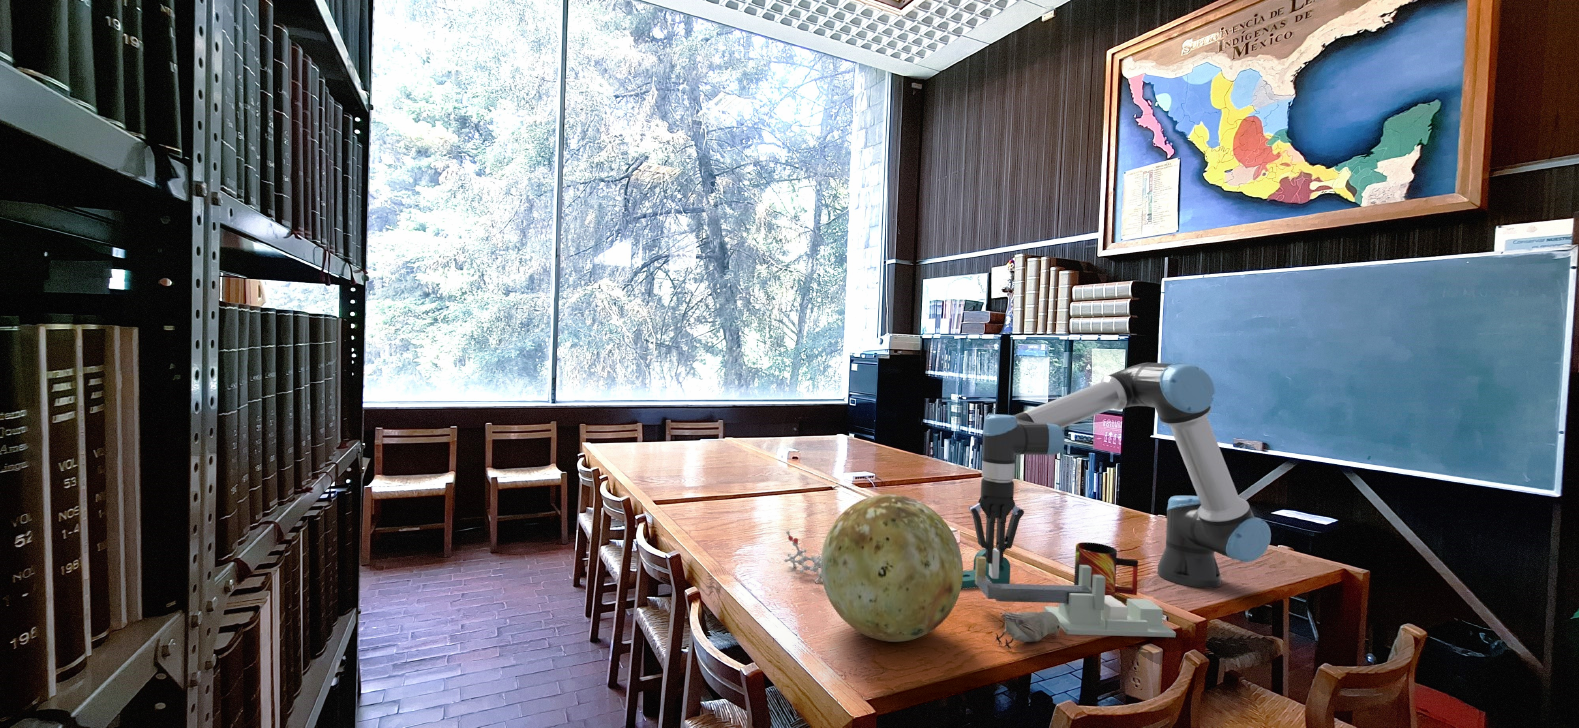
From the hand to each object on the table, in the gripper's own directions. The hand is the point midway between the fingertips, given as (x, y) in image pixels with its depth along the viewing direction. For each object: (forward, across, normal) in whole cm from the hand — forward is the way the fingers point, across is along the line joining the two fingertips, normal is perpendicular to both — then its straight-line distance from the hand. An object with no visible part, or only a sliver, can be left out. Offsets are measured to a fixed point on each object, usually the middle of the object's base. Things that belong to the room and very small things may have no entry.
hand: (993, 576), depth 159 cm
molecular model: (+8, +43, -19) cm, 48 cm away
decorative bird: (+8, -2, +18) cm, 20 cm away
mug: (+8, -32, -11) cm, 35 cm away
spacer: (+4, -23, +8) cm, 24 cm away
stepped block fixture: (+7, -24, +8) cm, 26 cm away
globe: (+8, +28, +17) cm, 34 cm away
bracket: (+8, 0, -17) cm, 18 cm away
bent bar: (+3, -8, +4) cm, 9 cm away
